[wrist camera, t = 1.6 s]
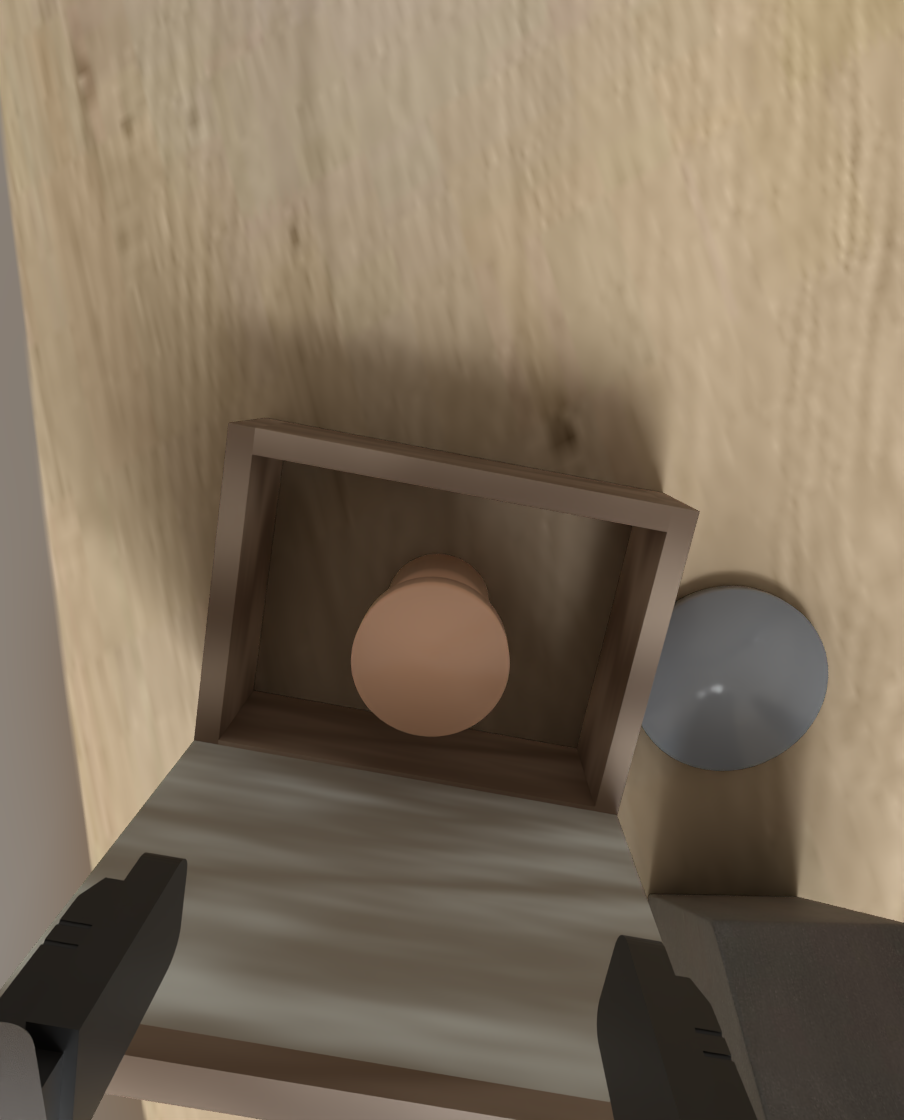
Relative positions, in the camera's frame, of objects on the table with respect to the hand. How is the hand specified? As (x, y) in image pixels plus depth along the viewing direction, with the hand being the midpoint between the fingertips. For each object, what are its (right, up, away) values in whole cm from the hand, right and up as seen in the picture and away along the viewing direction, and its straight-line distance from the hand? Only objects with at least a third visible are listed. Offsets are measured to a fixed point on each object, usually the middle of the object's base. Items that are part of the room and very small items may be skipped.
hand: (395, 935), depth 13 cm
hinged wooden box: (0, +5, +20) cm, 21 cm away
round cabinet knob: (0, +5, +20) cm, 21 cm away
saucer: (+14, +1, +21) cm, 25 cm away
